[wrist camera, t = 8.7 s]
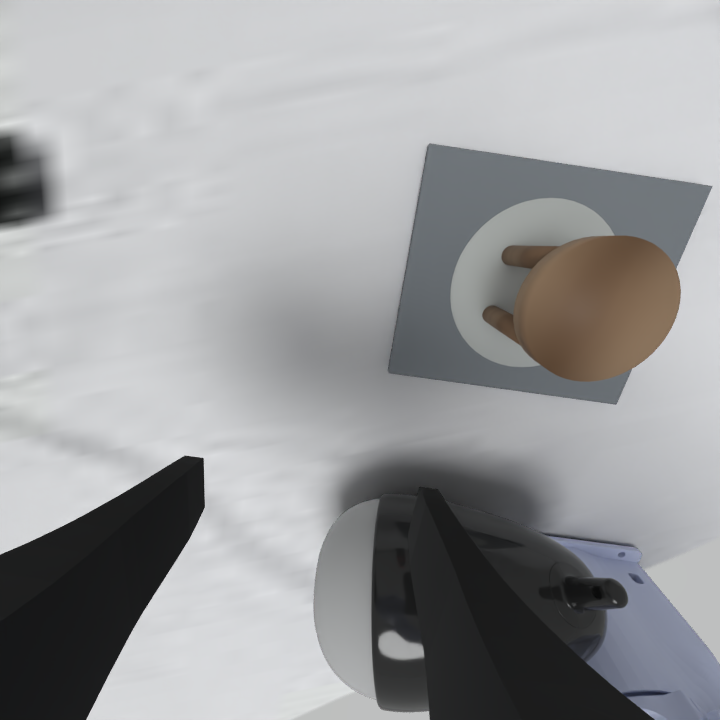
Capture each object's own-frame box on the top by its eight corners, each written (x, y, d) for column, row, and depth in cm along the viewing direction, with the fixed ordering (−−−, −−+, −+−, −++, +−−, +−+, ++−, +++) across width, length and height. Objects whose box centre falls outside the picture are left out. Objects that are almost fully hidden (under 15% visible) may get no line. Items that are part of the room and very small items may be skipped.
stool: (599, 249, 17) (710, 253, 12) (558, 348, 19) (636, 393, 13) (497, 227, 17) (559, 220, 11) (465, 329, 19) (505, 367, 13)
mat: (701, 187, 17) (714, 185, 16) (609, 400, 21) (617, 405, 20) (427, 147, 17) (429, 143, 16) (388, 369, 21) (388, 373, 20)
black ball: (314, 469, 19) (605, 470, 17) (348, 512, 27) (547, 517, 25) (277, 726, 13) (727, 789, 11) (335, 684, 21) (598, 713, 19)
